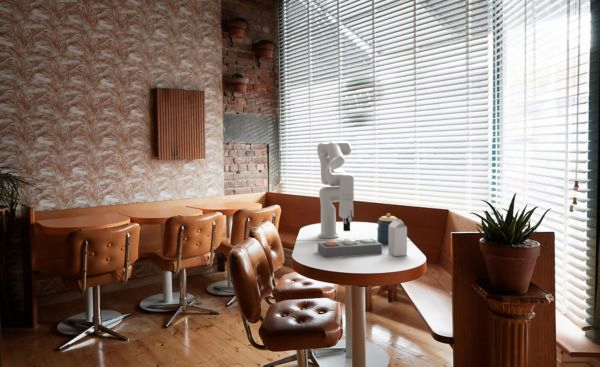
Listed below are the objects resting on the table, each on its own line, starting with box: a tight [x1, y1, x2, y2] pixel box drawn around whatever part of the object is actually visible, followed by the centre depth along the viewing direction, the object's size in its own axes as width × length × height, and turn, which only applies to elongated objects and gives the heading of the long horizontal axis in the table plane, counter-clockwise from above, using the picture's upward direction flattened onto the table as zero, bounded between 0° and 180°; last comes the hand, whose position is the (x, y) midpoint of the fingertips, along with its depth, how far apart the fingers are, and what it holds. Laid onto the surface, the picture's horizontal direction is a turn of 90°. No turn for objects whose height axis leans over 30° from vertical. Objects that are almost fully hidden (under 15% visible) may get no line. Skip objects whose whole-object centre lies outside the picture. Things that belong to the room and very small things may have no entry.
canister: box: [376, 212, 397, 246], centre depth 249 cm, size 13×13×18 cm
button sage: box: [361, 238, 374, 244], centre depth 230 cm, size 6×6×3 cm
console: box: [317, 238, 383, 259], centre depth 228 cm, size 13×32×5 cm, turn 103°
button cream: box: [343, 238, 356, 245], centre depth 228 cm, size 6×6×3 cm
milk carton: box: [387, 217, 408, 257], centre depth 223 cm, size 7×7×19 cm
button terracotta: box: [325, 239, 338, 247], centre depth 225 cm, size 6×6×3 cm
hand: (346, 230), depth 227 cm, fingers closed
